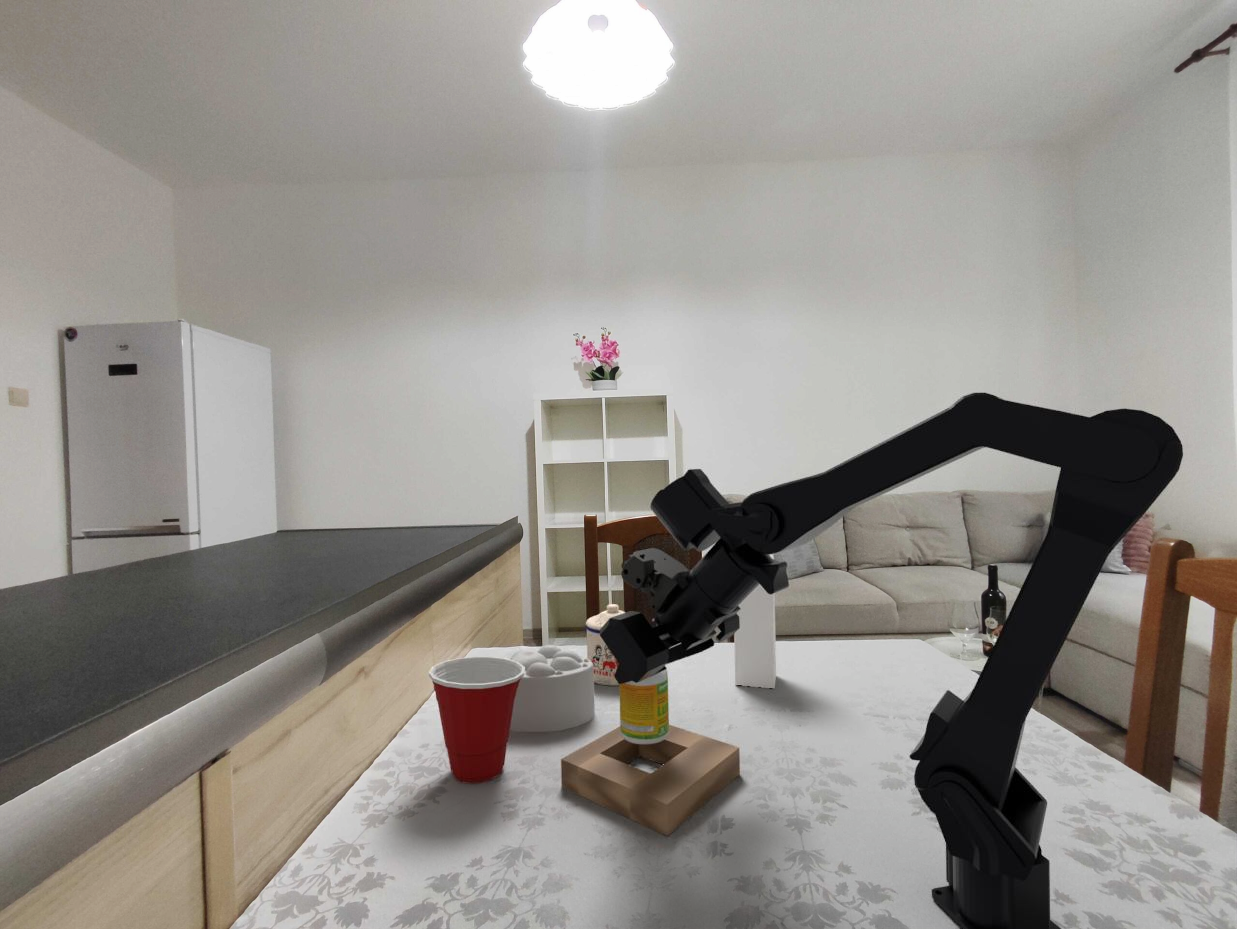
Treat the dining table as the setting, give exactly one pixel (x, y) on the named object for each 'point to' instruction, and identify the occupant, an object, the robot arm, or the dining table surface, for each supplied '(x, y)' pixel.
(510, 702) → the plastic cup
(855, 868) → the dining table surface
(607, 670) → the teacup with lid
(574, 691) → the lumpy-topped squat cylinder
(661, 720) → the supplement bottle
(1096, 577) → the robot arm
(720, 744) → the bottle holder
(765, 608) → the milk
